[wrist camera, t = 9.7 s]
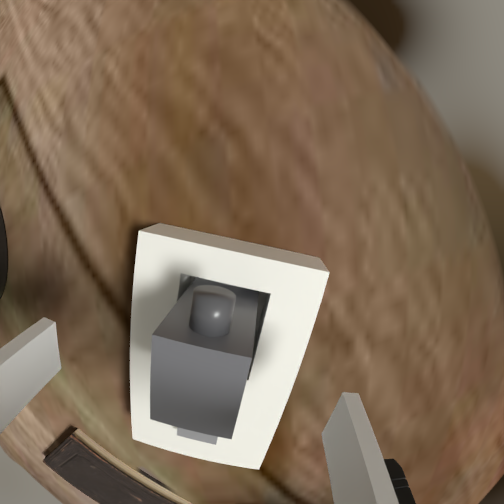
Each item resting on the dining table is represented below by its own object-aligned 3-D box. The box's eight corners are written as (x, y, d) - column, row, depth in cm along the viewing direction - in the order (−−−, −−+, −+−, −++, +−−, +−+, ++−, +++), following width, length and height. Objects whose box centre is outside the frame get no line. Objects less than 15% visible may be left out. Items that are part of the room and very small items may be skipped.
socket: (145, 414, 24) (129, 444, 19) (159, 223, 20) (133, 232, 16) (260, 441, 24) (258, 476, 19) (319, 257, 20) (332, 276, 15)
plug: (191, 336, 21) (150, 419, 12) (204, 248, 19) (154, 297, 11) (245, 348, 21) (231, 439, 12) (264, 261, 19) (260, 321, 11)
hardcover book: (79, 423, 26) (71, 435, 24) (225, 514, 28) (223, 526, 26) (48, 453, 29) (41, 462, 27) (164, 528, 31) (161, 537, 29)
